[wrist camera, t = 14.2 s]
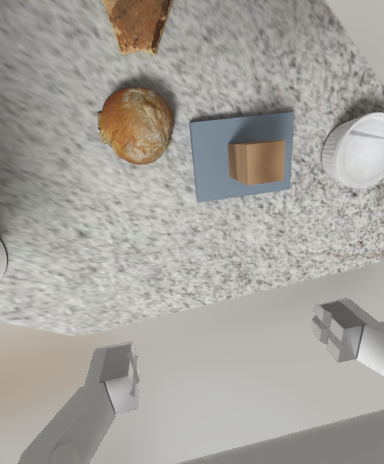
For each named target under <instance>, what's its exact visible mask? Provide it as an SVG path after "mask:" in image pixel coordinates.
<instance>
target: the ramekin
mask: <svg viewBox="0 0 384 464" xmlns="http://www.w3.org/2000/svg"><path fill="white" fill-rule="evenodd" d="M322 164H323V167H324V169H325V171H326V173H327V174H328V175H329V176H331V177H332V178H334V179H336V180H338V181H340V182H341V183H342V184H344V185H346V186H348V187H351V188H366V187H369V186H372V185H374V184H376V183H377V182H378V181H380V180H381V179H382V178H384V113H383V112H373V113H368V114H365V115H363V116H360V117H359V118H356V119H353V120H350V121H348V122H345V123H343V124H341V125H340V126H338V127H337V128H336V129H335V130H334V131H332V133H331V134H330V135H329V137H328V138H327V140H326V142H325V144H324V147H323V151H322Z"/></svg>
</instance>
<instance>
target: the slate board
mask: <svg viewBox="0 0 384 464" xmlns="http://www.w3.org/2000/svg"><path fill="white" fill-rule="evenodd" d="M189 126H190V136H191V146H192V156H193V166H194V176H195V187H196V197H197V201H198V202H204V201H211V200H218V199H225V198H232V197H239V196H246V195H253V194H260V193H267V192H274V191H281V190H288V189H290V170H291V150H292V131H293V112H286V113H277V114H267V115H258V116H248V117H239V118H230V119H220V120H211V121H201V122H192V123H189ZM258 140H285V161H284V181H277V182H270V183H262V184H255V185H245V184H243V183H241V182H239V181H237V180H235V179H233V178H231V177H229V162H228V144H232V143H241V142H249V141H258Z"/></svg>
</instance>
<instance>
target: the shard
mask: <svg viewBox="0 0 384 464" xmlns="http://www.w3.org/2000/svg"><path fill="white" fill-rule="evenodd" d="M102 2H103V4H104V6H105V10H106V13H107V15H108V18H109V20H110V23H111V25H112V28H113V30H114V33H115V36H116V39H117V42H118V45H119V49H120V51H121V53H122V55H126V54H129V53H132V52H137V51H144V52H147V53H150V54H153V55H156V52H157V47H158V43H159V40H160V38H161V35H162V31H163V27H164V23H165V21H166V18H167V15H168V12H169V8H170V6H171V3H172V0H102Z"/></svg>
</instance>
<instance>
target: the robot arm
mask: <svg viewBox="0 0 384 464" xmlns="http://www.w3.org/2000/svg"><path fill="white" fill-rule="evenodd" d="M6 266H7V256H6V252H5V249H4V246H3V244H2V243H1V241H0V279H1V278H2V276H3V274H4V273H5V270H6ZM313 312H314V314H315V316H314V318H313V319H312V328H313V332H314V334H315V336H316V337H317V338H318V339H319V341H321V342H323V343H324V344H326V345H327V350H328V352H329V353H330V354H331V355H332V356H333V357H334V359H335V360H336V361H337V362H343V361H348V360H353V359H357V360H358V361H360V362H361V363H363V364H364V365H366V366H368V367H370V368H371V369H373V370H374V371H376V372H378V373H379V374H381V375H383V376H384V322H378V321H377V320H375V319H374V318H373V317H371V316H370V315H369V314H368V313H367V312H365V311H364V310H363V309H362V308H360V307H359V306H358V305H357V304H355V303H354V302H353V301H352V300H350V299H348V298H344V299H340V300H336V301H330V302H325V303H321V304H316V305H315V306H314V307H313ZM139 369H140V368H139V360H138V356H136V355H135V345H134V342H128V343H122V344H116V345H111V346H107V347H101V348H96V350H95V351H94V353H93V356H92V360H91V363H90V367H89V371H88V374H87V378H86V381H85V385H84V386H83V387H80V388H79V389H78V390H77V391H76V393H75V394H74V395H73V396H72V397H71V398H70V399H69V401H68V402H67V403H66V404H65V405H64V406H63V408H62V409H61V410H60V411H59V412H58V413H57V414H56V415H55V417H54V418H53V419H52V420H51V421H50V422H49V424H48V425H47V426H46V427H45V428H44V429H43V430H42V432H41V433H40V434H39V435H38V436H37V437H36V438H35V439H34V441H33V442H32V443H31V444H30V445H29V446H28V448H27V449H26V450H25V451H24V452H23V453H22V455H21V457H20V460H19V462H18V464H89V463H90V461H91V459H92V458H93V456H94V454H95V452H96V450H97V449H98V447H99V445H100V443H101V442H102V440H103V438H104V436H105V434H106V433H107V431H108V429H109V427H110V425H111V424H112V422H113V420H114V418H115V417H116V416H115V415H116V414H121V413H124V412H128V411H132V410H136V409H138V399H139V390H138V386H137V384H138V382H139V381H140V370H139ZM177 464H384V409H383V410H380V411H376V412H372V413H368V414H364V415H361V416H357V417H353V418H349V419H345V420H342V421H337V422H334V423H330V424H326V425H322V426H318V427H314V428H311V429H307V430H303V431H299V432H295V433H292V434H288V435H284V436H280V437H277V438H272V439H269V440H265V441H261V442H257V443H253V444H250V445H246V446H242V447H238V448H234V449H231V450H227V451H223V452H219V453H216V454H211V455H208V456H204V457H200V458H196V459H193V460H188V461H185V462H181V463H177Z"/></svg>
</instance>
